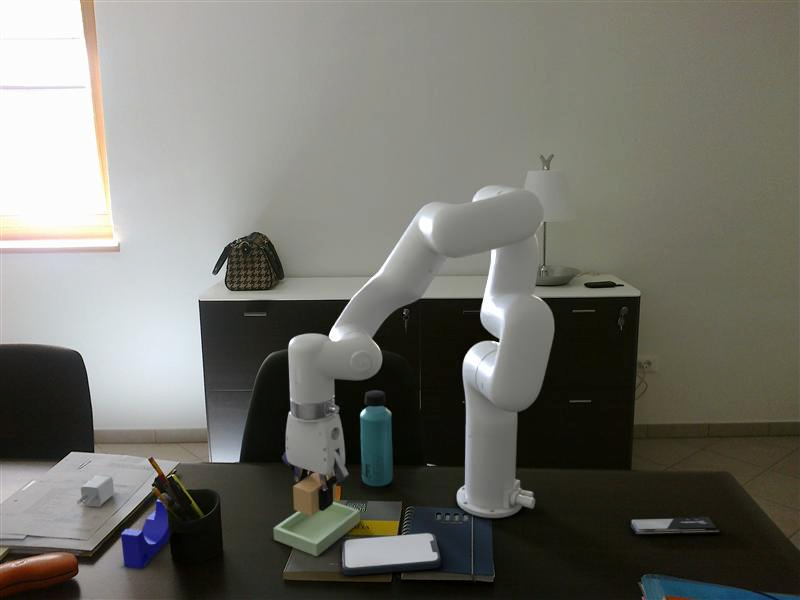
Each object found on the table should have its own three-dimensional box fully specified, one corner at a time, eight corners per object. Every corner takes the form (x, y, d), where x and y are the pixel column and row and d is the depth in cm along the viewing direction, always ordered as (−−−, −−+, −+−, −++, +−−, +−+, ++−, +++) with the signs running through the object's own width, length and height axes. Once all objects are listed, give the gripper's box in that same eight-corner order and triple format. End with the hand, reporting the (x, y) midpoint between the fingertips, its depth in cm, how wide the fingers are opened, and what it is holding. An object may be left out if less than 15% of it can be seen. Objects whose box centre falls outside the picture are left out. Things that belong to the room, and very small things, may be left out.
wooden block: (336, 498, 122) (336, 475, 121) (311, 516, 116) (311, 492, 115) (319, 492, 124) (318, 470, 123) (293, 509, 118) (292, 486, 117)
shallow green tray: (360, 521, 124) (360, 510, 124) (316, 556, 114) (316, 544, 113) (319, 507, 129) (318, 496, 129) (273, 539, 119) (273, 528, 118)
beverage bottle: (399, 483, 138) (398, 390, 134) (381, 497, 133) (379, 401, 128) (373, 475, 141) (371, 384, 137) (354, 488, 136) (351, 394, 132)
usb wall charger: (114, 495, 134) (112, 477, 133) (93, 513, 128) (90, 494, 127) (96, 493, 135) (93, 475, 134) (74, 512, 128) (71, 492, 127)
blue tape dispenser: (155, 526, 123) (152, 496, 122) (178, 528, 122) (175, 498, 121) (116, 565, 112) (112, 532, 110) (141, 568, 111) (137, 535, 110)
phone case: (343, 579, 108) (442, 570, 110) (342, 570, 108) (442, 561, 109) (342, 547, 117) (434, 539, 118) (341, 538, 116) (434, 531, 118)
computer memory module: (636, 531, 118) (628, 518, 122) (636, 536, 118) (628, 523, 122) (720, 529, 119) (709, 516, 122) (719, 534, 119) (709, 521, 123)
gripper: (365, 409, 115) (366, 507, 119) (289, 390, 123) (293, 482, 128) (338, 424, 109) (340, 527, 113) (261, 403, 117) (265, 500, 121)
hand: (315, 502), depth 120 cm, fingers closed on wooden block, 4 cm apart
